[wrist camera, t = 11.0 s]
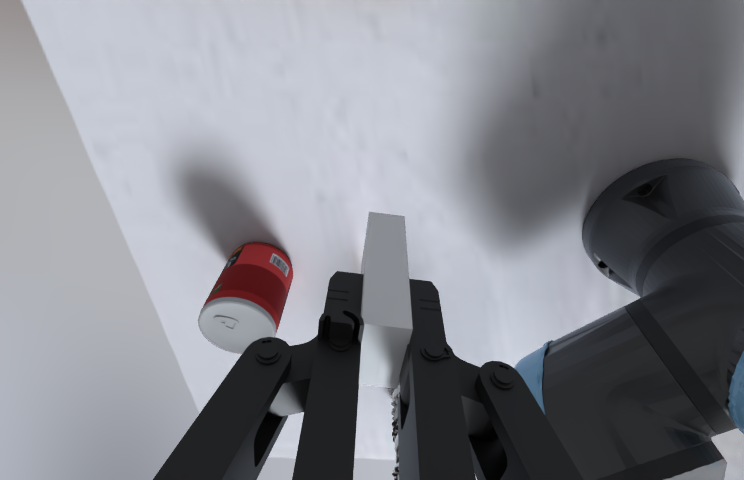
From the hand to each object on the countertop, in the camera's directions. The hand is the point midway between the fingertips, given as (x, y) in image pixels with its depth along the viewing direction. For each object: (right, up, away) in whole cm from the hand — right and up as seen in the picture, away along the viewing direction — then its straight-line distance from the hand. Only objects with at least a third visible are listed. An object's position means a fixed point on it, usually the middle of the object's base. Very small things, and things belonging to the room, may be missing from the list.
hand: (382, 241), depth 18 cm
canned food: (-14, -3, +34) cm, 37 cm away
